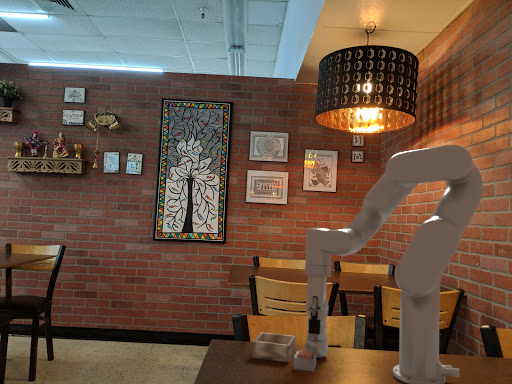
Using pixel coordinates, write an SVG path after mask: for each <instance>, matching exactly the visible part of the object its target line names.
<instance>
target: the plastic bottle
mask: <svg viewBox="0 0 512 384" xmlns="http://www.w3.org/2000/svg"><path fill="white" fill-rule="evenodd" d="M317 303H318V301H317ZM310 308H311V307H310ZM316 309H319V308H317V307H316ZM305 310H306V309H305ZM317 313H318V312H317ZM328 315H329V303H328V301H327V298H326V299H325V302H324V307H323V311H321V312H320V319H319V320H320V334H319V335H317V334H309V333H308V328H309V316H310V309H309V310H308V311H307V310H306V317H307V318H306V319H307V320H306V321H307V322H306V323H307V331H306V332H307V333H306V339H305V344H304V349H305V351H313V353H317V357H316V359H317V358H319V359H320V358H325V357H326V356H327V354H329V353H328V351H329V344H328V338H327V337H328V335H327V322H328V321H327V320H328ZM317 316H318V315H317Z"/></svg>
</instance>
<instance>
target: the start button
mask: <svg viewBox="0 0 512 384" xmlns="http://www.w3.org/2000/svg"><path fill="white" fill-rule="evenodd" d="M298 351H299V353H298V357H300V358H308V359H312V358H313V351H306V350H303V349H299V350H298Z"/></svg>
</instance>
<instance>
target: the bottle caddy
mask: <svg viewBox="0 0 512 384" xmlns="http://www.w3.org/2000/svg"><path fill="white" fill-rule="evenodd" d="M294 351H295V352H296V335H291V334H290V335H289V334H283V333H282V334H281V333H271V332H263V331H261V332H259V334H258V335H257V336H256V337H255V338H254V339H253V341H252V359H253V358H254V359H262V360H269V361H277V362H286V363H290V361H291V360H292V357H293V356H294V354H295V352H294ZM293 353H294V354H293Z"/></svg>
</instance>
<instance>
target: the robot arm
mask: <svg viewBox="0 0 512 384" xmlns="http://www.w3.org/2000/svg"><path fill="white" fill-rule="evenodd" d="M442 181H443V182H445V190H444V192H443V194H442V196H441V197H440V199H439V201H438V203H437V205H436V207H435V208H434V211H433V212H432V214H431V215H430V217H429V219H426V220H425V221H424V222H422V224H421V225H419V227H418V228H417V230H416V232H415V233H414V235H413V237H412V239H411V240H410V242H409V243H408V246H407V247H406V249H405V251H404V253H403V255H402V257H401V258H400V260H399V262H398V264H397V266H396V268H395V272H394V279H395V282H396V285H397V287H398V289H399V290H400V298H399V348H398V349H399V353H398V354H399V355H398V358H399V359H398V364H397V365H395V366H393V368H392V374H393V376H394V377H395V378H396V379H397V380H398V381H400V382H403V383H405V384H445V383H446V376H450V377H457V378H460V375H461V373H460V368H455V367H453V366H452V365H447V364H446V365H445V364H442V363H441V361H440V302H441V301H440V299H441V298H440V297H441V296H440V295H441V294H440V293H441V277H442V276H443V274H444V272H445V271H446V268H447V267H448V265H449V264H450V262H451V260H452V258H453V257H454V255H455V253H456V251H457V249H458V248H459V246H460V244H461V240H462V237H463V235H464V233H465V231H466V229H467V227H468V226H469V224H470V223H471V220H472V219H473V216H474V214H475V213H476V211H477V209H478V208H479V204H480V203H481V201H482V197H483V193H484V182H483V178H482V174H481V173H480V170H479V168H478V167H477V166H476V164H475V163H474V160H473V157H472V154H471V153H470V151H469V150H468V149H466V148H465V147H463V146H462V145H459V144H445V145H439V146H433V147H427V148H426V147H425V148H422V149H415V150H414V149H413V150H408V151H403V152H398V153H396V154H394V155H393V156H391V157H390V158H389V159H388V161H387V162H386V165H385V172H384V173H383V175H382V176H381V177H380V178H379V179H378V181H376V183H374V185H372V187H371V188H370V189H369V191H368V192H366V194H365V196H364V198H363V201H362V205H361V209H360V211H359V212H358V214H356V215H355V218H353V220H352V221H351V222H350V223H349V224H348V225H347V226H346V227H345V228H342V229H341V228H340V229H339V228H338V229H329V228H325V227H324V228H323V227H322V228H321V227H310V228H308V230H307V231H306V240H305V242H306V243H305V244H306V245H305V266H304V268H305V270H304V273H305V274H304V275H306V276H307V282H306V283H307V284H306V285H307V286H306V296H305V297H306V298H305V299H306V300H305V310H307V311H308V310H309V309H310V316H309V328H308V327H307V329H308V333H309V334H317V335H319V334H320V320H319V319H320V312H321V311H323V307H324V302H325V299H326V300H327V298H326V297H327V284H328V283H327V281H328V278H330V277H331V276H332V257H333V256H332V255H335V256H339V257H347V256H349V255H352V254H356V253H358V252H359V251H361V250H362V248H363V247H364V246H365V245H366V244H367V243H368V242H369V241H370V240H371V239H372V238H373V237H374V236H375V234H377V232H378V231H379V229H380V228H382V226H383V225H384V224H385V222H387V220H388V218H389V217H390V216H391V215H392V213H394V212H395V210H396V209H397V208H398V207H399V205H401V204H402V202H403V201H404V200H405V199H406V198H407V197H408V196H409V195H410V193H412V192H413V191H414V189H415V188H416V187H417V186H418V185H419V184H427V183H434V182H435V183H436V182H442ZM317 301H318V303H317ZM310 307H311V308H310ZM316 307H317V308H319V309H316ZM307 311H306V312H307ZM317 312H318V313H317ZM317 315H318V316H317Z"/></svg>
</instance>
